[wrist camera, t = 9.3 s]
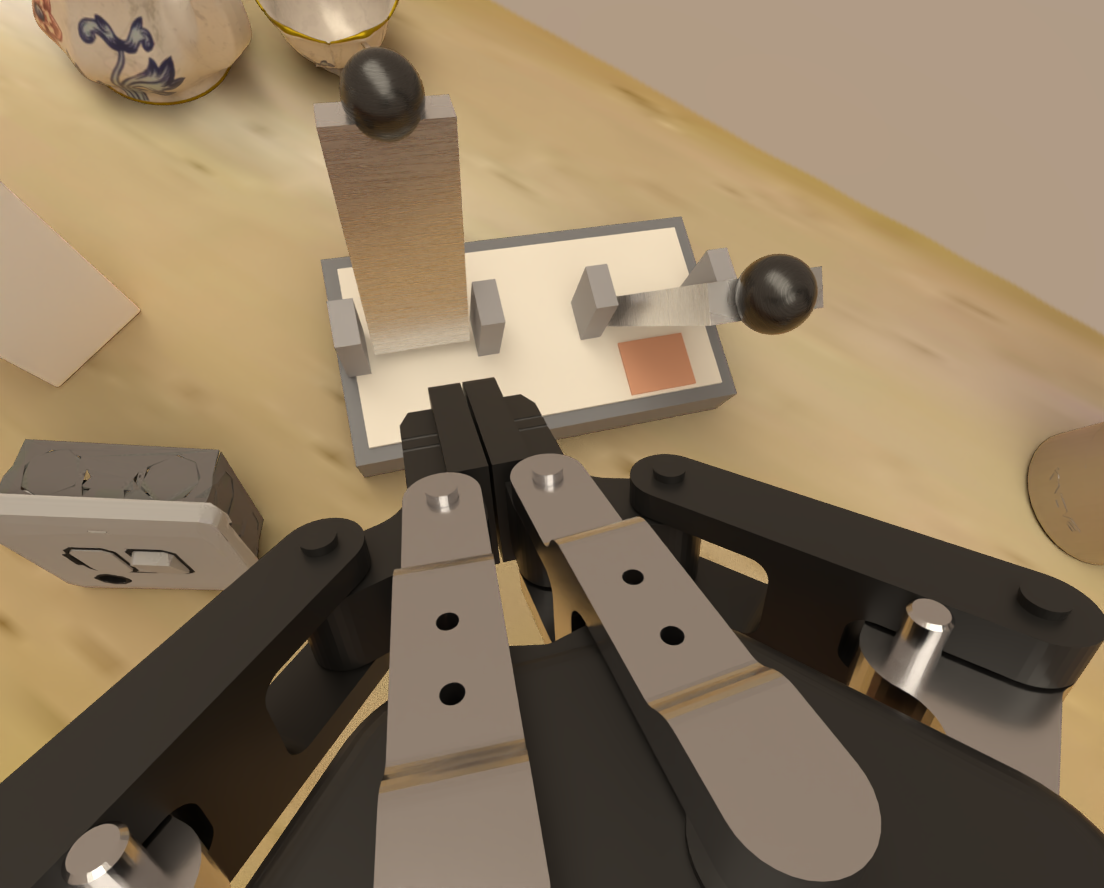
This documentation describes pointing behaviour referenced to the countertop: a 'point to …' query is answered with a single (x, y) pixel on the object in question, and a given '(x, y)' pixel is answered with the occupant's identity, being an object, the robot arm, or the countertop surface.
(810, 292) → the lever inner
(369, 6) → the chinaware
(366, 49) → the lever outer
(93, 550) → the electrical switch
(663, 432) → the countertop surface
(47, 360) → the milk
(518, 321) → the switch panel
